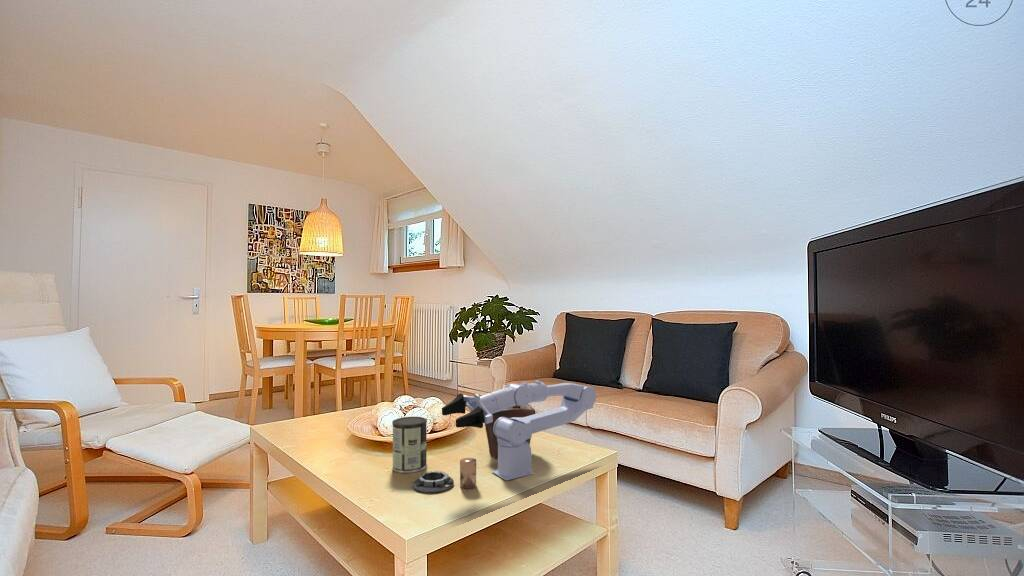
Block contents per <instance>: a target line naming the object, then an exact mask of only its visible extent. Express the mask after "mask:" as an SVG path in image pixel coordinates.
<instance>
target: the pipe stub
mask: <svg viewBox="0 0 1024 576" xmlns="http://www.w3.org/2000/svg"><path fill="white" fill-rule="evenodd" d="M459 488H460V489H462V490H466V491H467V490H474V489H475V488H477V459H476V458H474V457H463V458H461V459H460V460H459Z"/></svg>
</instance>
